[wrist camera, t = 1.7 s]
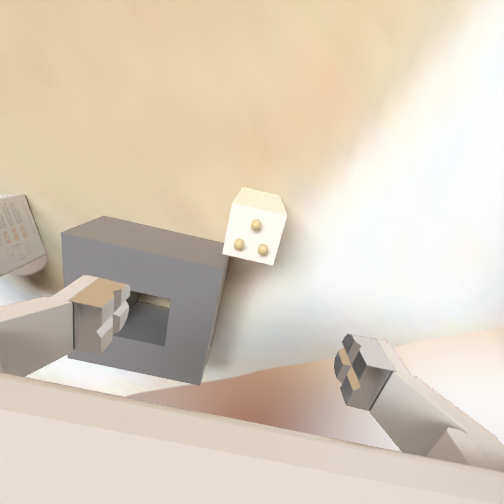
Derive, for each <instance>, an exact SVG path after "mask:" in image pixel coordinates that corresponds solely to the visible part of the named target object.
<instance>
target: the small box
mask: <svg viewBox="0 0 504 504" xmlns="http://www.w3.org/2000/svg"><path fill="white" fill-rule="evenodd" d="M44 255H46V251H45V249H44V246H43V243H42V241H41V238H40V235H39V232H38V230H37V227H36V224H35V222H34V219H33V216H32V213H31V211H30V208H29V205H28V203H27V200H26V197H25V195H24V194H11V195H0V277H1V276H3V275H5V274H7V273H9V272H11V271H13V270H15V269H17V268H19V267H21V266H23V265H25V264H27V263H29V262H32V261H34V260H36V259H37V258H40V257H42V256H44Z"/></svg>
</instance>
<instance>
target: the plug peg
mask: <svg viewBox="0 0 504 504" xmlns="http://www.w3.org/2000/svg"><path fill="white" fill-rule="evenodd" d="M286 218H287V214H286V211H285V208H284V205H283V202H282V200H281V197H280V196H279V195H275V194H270V193H266V192H262V191H258V190H254V189H249V188H245V187H242V189H241V190H240V192H239V193H238V195H237V196H236V198H235V199H234V201H233V203H232V207H231V212H230V217H229V222H228V227H227V232H226V237H225V242H224V247H223V252H222V254H225V255H229V256H233V257H238V258H242V259H247V260H251V261H255V262H260V263H264V264H268V265H273V264H274V261H275V257H276V254H277V250H278V247H279V243H280V240H281V236H282V233H283V229H284V225H285V222H286Z"/></svg>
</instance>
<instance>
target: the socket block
mask: <svg viewBox="0 0 504 504" xmlns="http://www.w3.org/2000/svg"><path fill="white" fill-rule="evenodd" d="M61 237H62V256H63V275H64V288H65V287H67V286H68V285H70V284H71V283H73V282H74V281H75V280H77V279H78V278H80V277H81V276H83V275H90V276H94V277H99V278H103V279H107V280H111V281H115V282H119V283H123V284H128V285H129V286H130V296H129V297H128V298H127V299H126V302H127V303H128V305H129V313H128V317H127V320H126V322H125V324H124V326H123V327H122V329H121V330H120V331H119V332H117V333H115V334H112V341H111V342H110V344H109V345H108V346H107V347H106V349H105V350H104V351H103V352H102V354H101V355H100V354H94V353H89V352H83V351H77V350H73V352H71V353H69V354H68V358H70V359H75V360H80V361H85V362H89V363H94V364H99V365H104V366H109V367H114V368H118V369H123V370H128V371H133V372H138V373H143V374H147V375H152V376H157V377H162V378H167V379H172V380H176V381H181V382H186V383H191V384H196V385H200V383H201V380H202V376H203V373H204V369H205V365H206V362H207V358H208V355H209V351H210V348H211V344H212V339H213V334H214V329H215V325H216V320H217V315H218V310H219V306H220V301H221V296H222V291H223V287H224V282H225V277H226V273H227V268H228V263H229V258H230V256H229V255H225V254H222V252H223V247H224V243H220V242H216V241H212V240H207V239H203V238H199V237H194V236H190V235H185V234H181V233H177V232H172V231H168V230H164V229H159V228H155V227H150V226H146V225H142V224H137V223H133V222H129V221H124V220H120V219H116V218H111V217H107V216H102V217H100V218H97V219H95V220H92V221H89V222H87V223H84V224H82V225H79V226H77V227H74V228H71V229H69V230H66V231H64V232H61ZM138 292H139V293H144V294H148V295H153V296H158V297H162V298H167V299H171V301H170V308H166V307H162V306H157V305H153V304H148V303H143V302H139V301H138Z"/></svg>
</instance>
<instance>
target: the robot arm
mask: <svg viewBox="0 0 504 504" xmlns="http://www.w3.org/2000/svg"><path fill="white" fill-rule="evenodd" d="M129 296H130V286H129V285H128V284H123V283H119V282H115V281H111V280H107V279H103V278H99V277H94V276H90V275H83V276H81V277H80V278H78V279H77V280H75V281H74V282H73V283H71V284H70V285H68V286H67V287H65V288H64V289H62V290H61V291H59V292H58V293H56V294H55V295H53V296H52V297H47V296H45V297H40V298H36V299H32V300H27V301H23V302H19V303H14V304H10V305H6V306H1V307H0V504H504V446H503V445H502V443H501V442H500V441H499V440H498V439H497V437H496V436H495V435H493V434H492V433H491V432H489V431H488V430H487V429H485V428H484V427H483V426H481V425H480V424H478V423H477V422H476V421H475V420H473V419H472V418H471V417H469V416H468V415H467V414H465V413H464V412H463V411H461V410H460V409H459V408H458V407H456V406H455V405H453V404H452V403H451V402H450V401H448V400H447V399H446V398H444V397H443V396H441V395H440V394H439V393H438V392H436V391H435V390H434V389H432V388H431V387H430V386H428V385H427V384H426V383H424V382H423V381H422V380H420V379H419V378H418V377H416V376H412V374H411V373H410V372H409V370H408V369H407V367H406V366H405V364H404V363H403V362H402V360H401V359H400V357H399V356H398V354H397V353H396V351H395V350H394V348H393V347H392V345H391V344H390V343H388V342H387V341H382V340H377V339H370V338H365V337H361V336H356V335H351V334H347V335H346V336H345V337H344V340H343V342H342V343H343V346H344V348H343V349H341V350H340V351H338V353H337V355H336V358H335V363H334V368H335V374H336V377H337V379H338V380H339V381H340V382H341V383H342V386H341V388H340V389H341V392H342V395H343V397H344V401H345V403H346V405H347V406H351V407H356V408H359V409H363V410H368V411H370V413H371V414H372V416H373V417H374V418H375V419H376V421H377V422H378V423H379V424H380V425H381V427H382V428H383V429H384V430H385V432H386V433H387V434H388V435H389V436H390V438H391V439H392V440H393V441H394V443H395V444H396V445H397V446H398V447H399V448H400V450H401V451H402V452H398V451H393V450H388V449H383V448H378V447H373V446H368V445H363V444H358V443H353V442H348V441H343V440H337V439H333V438H328V437H322V436H318V435H313V434H308V433H303V432H298V431H293V430H288V429H283V428H278V427H273V426H268V425H263V424H258V423H253V422H248V421H243V420H238V419H233V418H227V417H223V416H217V415H213V414H208V413H203V412H197V411H192V410H187V409H182V408H177V407H172V406H167V405H162V404H157V403H152V402H147V401H142V400H136V399H132V398H127V397H122V396H117V395H112V394H107V393H102V392H97V391H92V390H87V389H82V388H77V387H72V386H67V385H62V384H57V383H51V382H46V381H41V380H36V379H31V378H26V377H25V376H27V375H29V374H31V373H33V372H34V371H36V370H38V369H40V368H42V367H44V366H46V365H48V364H50V363H52V362H54V361H56V360H58V359H59V358H61V357H63V356H65V355H67V354H69V353H71V352H73V350H77V351H83V352H89V353H94V354H100V355H101V354H102V352H103V351H104V350H105V349H106V347H107V346H108V345H109V344H110V342H111V341H112V334H115V333H117V332H119V331H120V330H121V329H122V327H123V326H124V324H125V322H126V320H127V317H128V313H129V305H128V303H127V302H126V299H127V298H128V297H129Z"/></svg>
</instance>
